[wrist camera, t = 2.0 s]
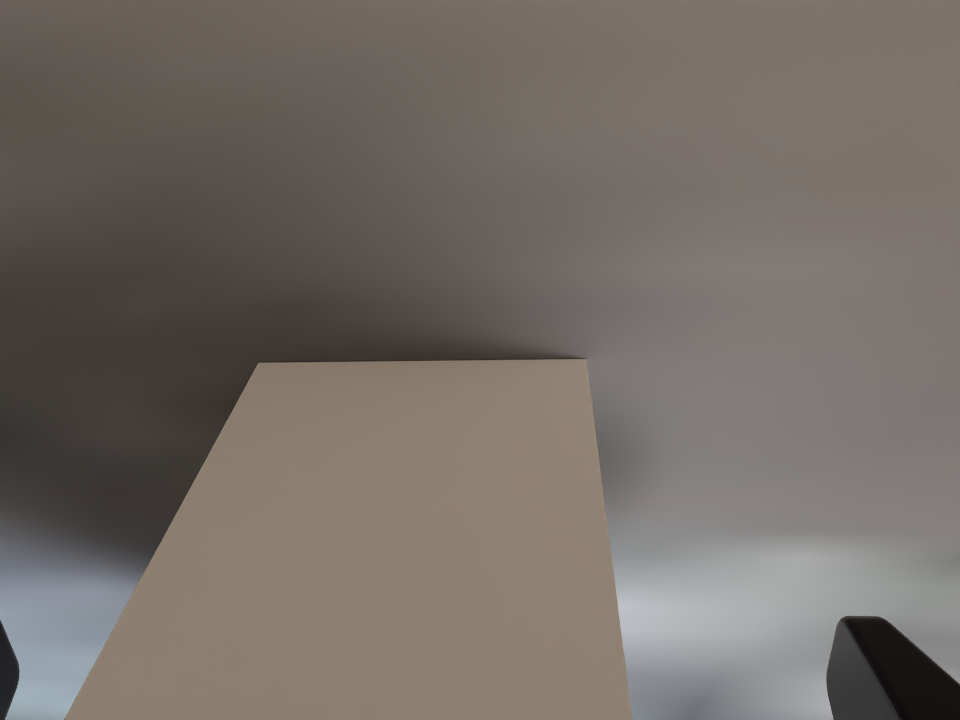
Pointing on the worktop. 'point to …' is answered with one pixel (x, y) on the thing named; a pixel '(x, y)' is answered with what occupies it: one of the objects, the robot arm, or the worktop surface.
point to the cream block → (382, 556)
